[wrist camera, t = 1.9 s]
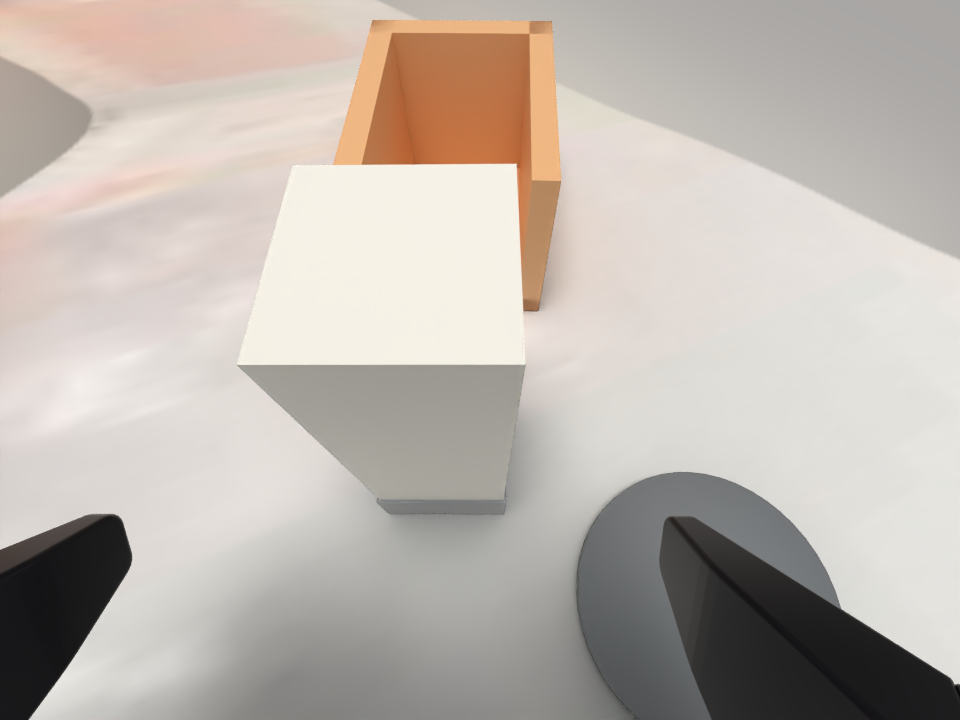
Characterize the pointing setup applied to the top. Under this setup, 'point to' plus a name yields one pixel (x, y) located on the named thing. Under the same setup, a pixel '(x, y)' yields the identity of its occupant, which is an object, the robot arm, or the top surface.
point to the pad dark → (641, 591)
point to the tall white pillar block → (398, 327)
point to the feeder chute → (464, 112)
